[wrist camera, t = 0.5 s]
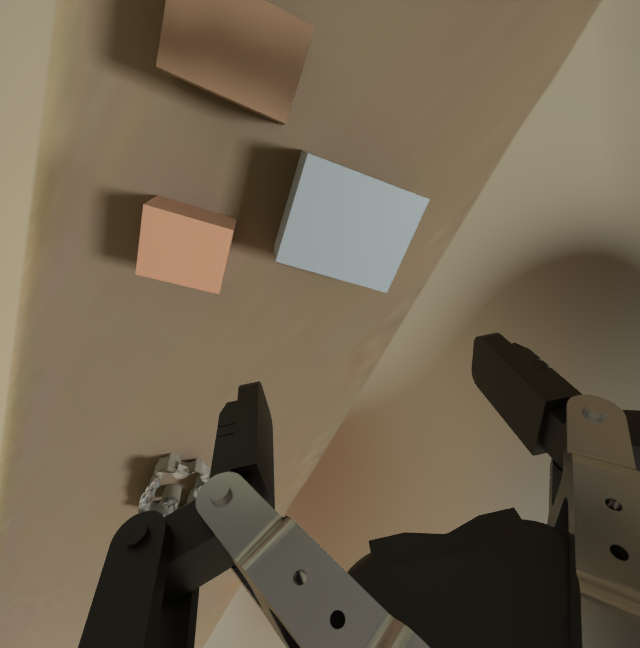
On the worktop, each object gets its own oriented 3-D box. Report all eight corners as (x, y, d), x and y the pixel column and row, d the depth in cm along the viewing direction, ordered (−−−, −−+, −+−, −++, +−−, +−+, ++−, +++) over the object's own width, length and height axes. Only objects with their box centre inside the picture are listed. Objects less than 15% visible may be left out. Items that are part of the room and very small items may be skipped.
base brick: (301, 149, 31) (307, 153, 27) (408, 190, 34) (429, 199, 30) (273, 245, 35) (275, 261, 31) (372, 274, 38) (386, 292, 34)
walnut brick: (188, -19, 25) (173, -50, 21) (306, 43, 28) (314, 27, 23) (172, 76, 28) (155, 66, 23) (282, 124, 30) (285, 123, 26)
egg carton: (163, 446, 46) (154, 473, 42) (218, 460, 48) (215, 487, 45) (137, 498, 49) (127, 526, 46) (190, 508, 52) (185, 536, 48)
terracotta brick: (158, 194, 31) (143, 204, 27) (237, 218, 33) (233, 230, 29) (150, 257, 34) (135, 274, 30) (223, 276, 36) (219, 294, 32)
